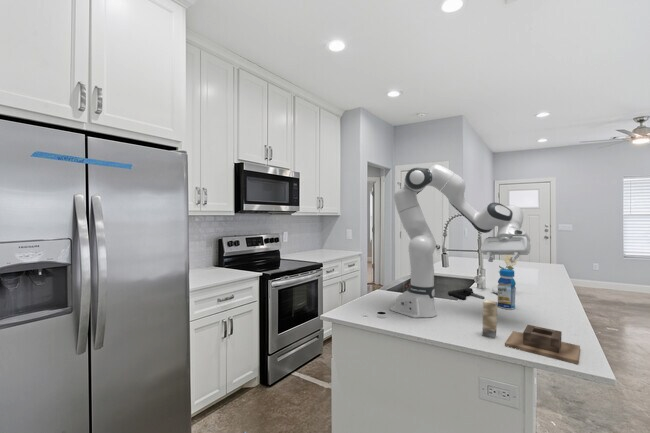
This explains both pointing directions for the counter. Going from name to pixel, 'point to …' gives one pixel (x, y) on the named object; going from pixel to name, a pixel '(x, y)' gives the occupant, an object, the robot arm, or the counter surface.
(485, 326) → the upright wooden square peg
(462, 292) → the door handle
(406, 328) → the counter surface
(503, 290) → the beverage bottle
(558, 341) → the square hole base plate
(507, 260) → the flower in vase
